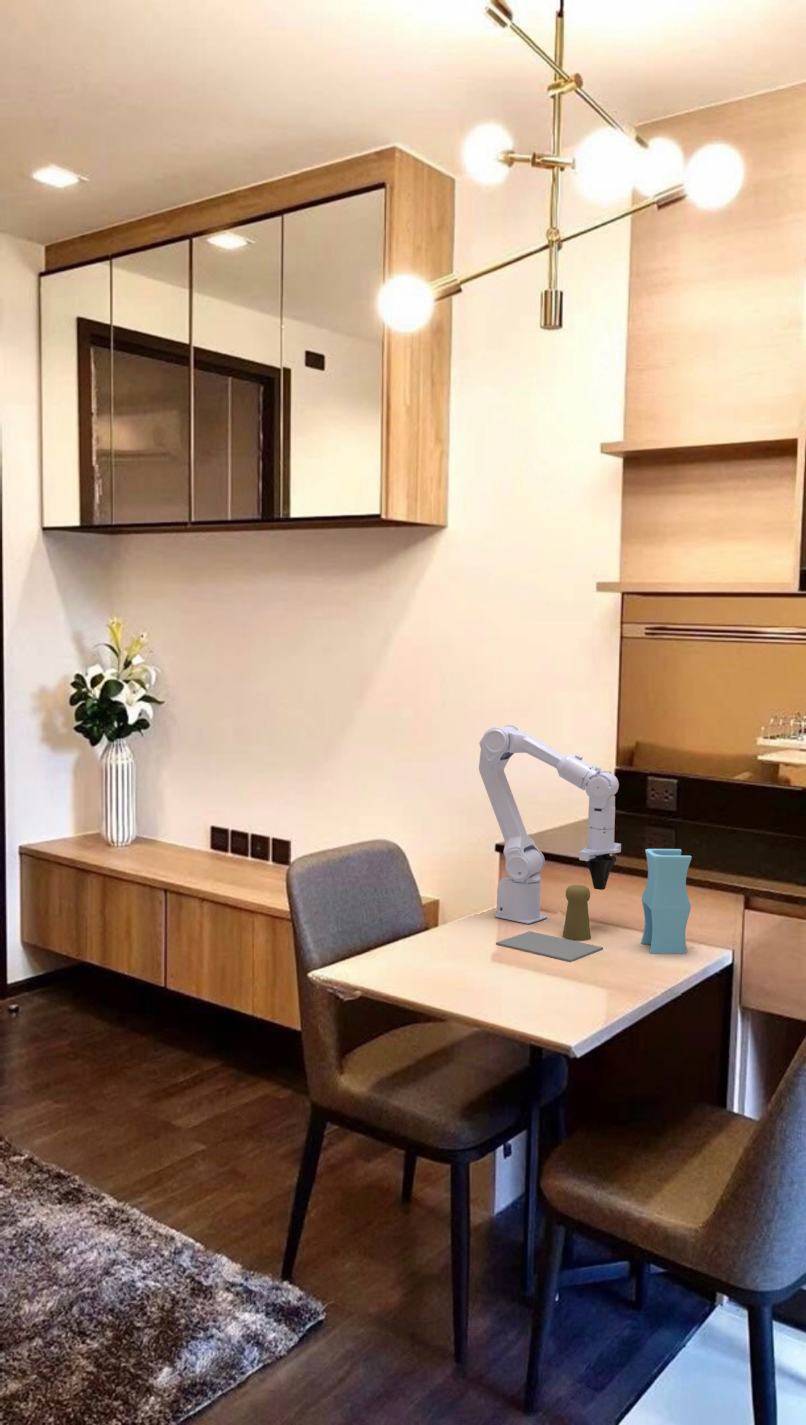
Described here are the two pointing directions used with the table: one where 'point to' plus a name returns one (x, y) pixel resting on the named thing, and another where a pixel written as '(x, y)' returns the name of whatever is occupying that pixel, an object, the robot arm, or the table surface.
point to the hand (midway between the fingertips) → (599, 888)
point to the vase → (666, 901)
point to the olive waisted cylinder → (577, 914)
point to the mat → (550, 946)
